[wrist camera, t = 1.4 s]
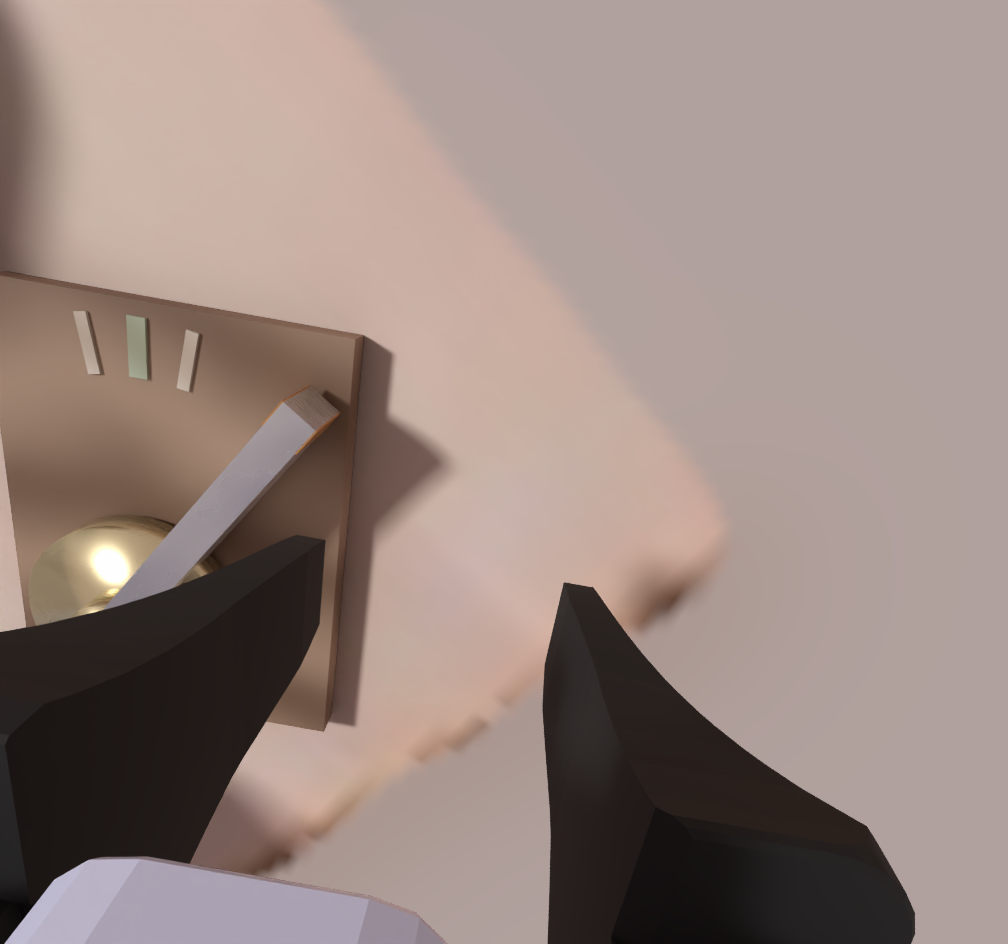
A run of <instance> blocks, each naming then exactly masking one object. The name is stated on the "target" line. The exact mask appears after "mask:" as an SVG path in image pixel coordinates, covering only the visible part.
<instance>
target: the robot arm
mask: <svg viewBox="0 0 1008 944" xmlns="http://www.w3.org/2000/svg"><path fill="white" fill-rule="evenodd" d="M325 542H326V540H323V539H317V538H312V537H306V536H301V535H294V536H292V537H289V538H286V539H284V540H282V541H279V542H277V543H275V544H273V545H271V546H269V547H266V548H264V549H262V550H260V551H258V552H256V553H254V554H251V555H249V556H247V557H245V558H243V559H240V560H238V561H236V562H234V563H232V564H230V565H227V566H225V567H223V568H221V569H218V570H216V571H213V572H211V573H209V574H206V575H204V576H201V577H199V578H196V579H194V580H191V581H189V582H186V583H184V584H181V585H179V586H177V587H174V588H171V589H169V590H166V591H163V592H160V593H157V594H154V595H151V596H148V597H145V598H142V599H139V600H136V601H132V602H129V603H126V604H123V605H120V606H116V607H113V608H109V609H105V610H101V611H97V612H93V613H89V614H85V615H80V616H76V617H72V618H68V619H64V620H60V621H56V622H52V623H47V624H42V625H37V626H32V627H26V628H21V629H16V630H11V631H4V632H0V944H447V943H446V942H445V941H444V940H443V939H442V938H441V937H440V936H439V935H438V934H437V933H436V932H435V931H434V930H433V929H432V928H431V927H430V926H429V925H428V924H427V923H426V922H425V921H424V920H423V919H422V918H421V917H420V916H419V915H418V914H417V913H416V912H413V911H410V910H408V909H405V908H402V907H400V906H397V905H394V904H391V903H389V902H386V901H383V900H381V899H378V898H375V897H373V896H369V895H363V894H357V893H352V892H346V891H340V890H334V889H328V888H323V887H317V886H312V885H306V884H301V883H295V882H289V881H284V880H278V879H272V878H266V877H261V876H255V875H249V874H244V873H238V872H232V871H227V870H221V869H215V868H210V867H204V866H198V865H193V864H190V862H191V860H192V857H193V855H194V853H195V851H196V849H197V847H198V845H199V843H200V841H201V839H202V836H203V834H204V832H205V830H206V828H207V826H208V824H209V822H210V820H211V818H212V816H213V814H214V812H215V810H216V808H217V806H218V804H219V802H220V800H221V798H222V796H223V794H224V792H225V790H226V788H227V786H228V784H229V782H230V780H231V778H232V776H233V775H234V773H235V771H236V769H237V768H238V766H239V764H240V762H241V761H242V759H243V757H244V756H245V754H246V752H247V751H248V749H249V748H250V746H251V745H252V743H253V741H254V740H255V738H256V737H257V735H258V733H259V732H260V730H261V729H262V727H263V726H264V724H265V722H266V721H267V719H268V718H269V716H270V714H271V713H272V711H273V710H274V708H275V707H276V705H277V703H278V702H279V700H280V699H281V697H282V695H283V694H284V692H285V691H286V689H287V687H288V686H289V684H290V683H291V681H292V679H293V678H294V676H295V674H296V673H297V671H298V670H299V668H300V666H301V664H302V662H303V660H304V658H305V656H306V654H307V652H308V649H309V647H310V645H311V643H312V640H313V638H314V636H315V634H316V631H317V629H318V627H319V624H320V611H321V598H322V584H323V570H324V556H325ZM543 723H544V735H545V736H544V737H545V751H546V764H547V777H548V791H549V804H550V826H551V851H550V893H549V922H548V944H911V942H912V940H913V937H914V935H915V912H914V910H913V908H912V906H911V903H910V901H909V899H908V897H907V894H906V892H905V890H904V889H903V887H902V885H901V883H900V882H899V880H898V878H897V876H896V875H895V873H894V871H893V869H892V868H891V866H890V864H889V862H888V861H887V859H886V857H885V856H884V854H883V852H882V851H881V848H880V847H879V845H878V843H877V842H876V840H875V838H874V837H873V835H872V834H871V832H870V831H869V829H868V827H867V826H865V825H864V824H862V823H860V822H858V821H856V820H855V819H853V818H851V817H850V816H848V815H846V814H845V813H843V812H841V811H839V810H837V809H836V808H834V807H832V806H830V805H829V804H827V803H825V802H823V801H822V800H820V799H819V798H817V797H815V796H813V795H812V794H810V793H808V792H806V791H805V790H803V789H802V788H800V787H798V786H797V785H795V784H794V783H792V782H790V781H789V780H788V779H786V778H785V777H783V776H782V775H780V774H779V773H777V772H776V771H774V770H773V769H771V768H770V767H768V766H767V765H765V764H764V763H762V762H761V761H760V760H758V759H757V758H756V757H754V756H753V755H751V754H750V753H749V752H747V751H746V750H744V749H743V748H742V747H741V746H739V745H738V744H737V743H736V742H734V741H733V740H732V739H730V738H729V737H728V736H727V735H725V734H724V733H723V732H722V731H720V730H719V729H718V728H717V727H715V726H714V725H713V724H712V723H711V722H710V721H708V720H707V719H706V718H705V717H703V716H702V715H701V714H700V713H699V712H698V711H697V710H696V709H695V708H694V707H693V706H692V705H690V704H689V703H688V702H687V701H686V700H685V699H684V698H683V697H682V696H681V695H680V694H679V693H678V692H677V691H676V690H675V689H674V688H673V687H672V686H671V685H670V684H669V683H668V682H667V681H666V680H665V679H664V678H663V677H662V675H660V673H659V672H658V671H657V670H656V669H655V668H654V666H653V665H652V664H651V663H650V662H649V661H648V660H647V659H646V657H645V656H644V655H643V654H642V653H641V651H640V650H639V649H638V648H637V646H636V645H635V644H634V643H633V641H632V640H631V639H630V638H629V636H628V635H627V634H626V632H625V631H624V630H623V628H622V627H621V626H620V624H619V623H618V622H617V620H616V619H615V617H614V616H613V615H612V613H611V612H610V610H609V609H608V608H607V606H606V605H605V603H604V602H603V600H602V599H601V597H600V596H599V595H598V593H597V592H596V590H595V589H594V588H593V587H587V586H581V585H576V584H570V583H564V584H563V589H562V593H561V597H560V602H559V606H558V610H557V614H556V619H555V623H554V627H553V632H552V636H551V640H550V644H549V649H548V653H547V657H546V662H545V671H544V688H543Z"/></svg>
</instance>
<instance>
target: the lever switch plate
mask: <svg viewBox="0 0 1008 944" xmlns="http://www.w3.org/2000/svg"><path fill="white" fill-rule="evenodd" d="M363 341H364V335H359V334H353V333H348V332H342V331H337V330H331V329H326V328H320V327H314V326H309V325H303V324H298V323H292V322H286V321H281V320H275V319H270V318H264V317H259V316H253V315H247V314H242V313H236V312H231V311H225V310H220V309H214V308H208V307H203V306H197V305H192V304H186V303H180V302H175V301H169V300H164V299H158V298H153V297H147V296H141V295H136V294H130V293H125V292H119V291H113V290H108V289H102V288H97V287H91V286H86V285H80V284H74V283H69V282H63V281H58V280H52V279H46V278H41V277H35V276H30V275H24V274H19V273H13V272H7V271H3V272H0V428H1V435H2V443H3V451H4V458H5V466H6V474H7V481H8V489H9V497H10V504H11V512H12V520H13V527H14V535H15V543H16V550H17V558H18V566H19V574H20V581H21V589H22V597H23V604H24V612H25V620H26V627H32V626H36V624H35V621H34V619H33V616H32V612H31V608H30V604H29V594H28V593H29V581H30V577H31V573H32V570H33V568H34V565H35V563H36V562H37V560H38V558H39V557H40V555H41V554H42V553H43V552H44V551H45V550H46V549H47V548H48V547H49V546H50V545H52V544H53V543H54V542H56V541H57V540H59V539H60V538H62V537H64V536H66V535H67V534H69V533H71V532H72V531H74V530H76V529H77V528H79V527H81V526H83V525H84V524H86V523H88V522H90V521H93V520H96V519H99V518H102V517H107V516H112V515H137V516H143V517H148V518H152V519H155V520H159V521H162V522H165V523H167V524H169V525H171V526H174V527H175V526H176V525H177V524H178V523H179V521H180V520H181V519H182V518H183V517H184V516H185V514H186V513H187V512H188V511H189V510H190V509H191V508H192V506H193V505H194V504H195V503H196V502H197V501H198V499H199V498H200V497H201V496H202V495H203V494H204V493H205V491H206V490H207V489H208V488H209V487H210V486H211V484H212V483H213V482H214V481H215V480H216V479H217V478H218V476H219V475H220V474H221V473H222V472H223V471H224V469H225V468H226V467H227V466H228V465H229V464H230V463H231V461H232V460H233V459H234V458H235V457H236V456H237V454H238V453H239V452H240V451H241V450H242V449H243V448H244V446H245V445H246V444H247V443H248V442H249V441H250V439H251V438H252V437H253V436H254V435H255V434H256V433H257V431H258V430H259V429H260V428H261V427H262V425H261V424H262V423H263V422H264V421H265V419H266V418H267V417H268V416H269V415H270V414H271V412H272V411H273V410H274V409H275V408H276V407H277V406H278V404H279V403H280V402H281V401H282V400H284V399H286V398H287V397H289V396H291V395H293V394H294V393H296V392H298V391H300V390H302V389H303V388H305V387H307V386H309V385H310V386H311V387H312V388H314V389H315V390H316V391H317V392H318V393H319V394H320V395H321V396H322V397H324V398H325V399H326V400H327V401H328V402H329V403H330V404H331V405H332V406H333V407H335V408H336V409H337V410H338V411H339V412H340V413H341V414H340V415H339V416H338V417H337V418H336V419H335V420H334V421H333V422H332V423H331V425H330V426H329V427H328V428H327V429H326V430H325V431H324V432H323V433H322V434H321V435H320V436H319V437H318V438H316V439H315V440H314V441H313V442H312V443H311V444H310V445H309V446H308V447H307V449H306V450H305V451H304V452H303V453H302V454H301V455H300V456H299V457H298V458H297V460H296V461H295V462H294V463H293V464H292V465H291V466H290V467H289V468H288V469H287V470H286V472H285V473H284V474H283V475H282V476H281V477H280V478H279V479H278V480H277V481H276V483H275V484H274V485H273V486H272V487H271V488H270V489H269V490H268V491H267V492H266V494H265V495H264V496H263V497H262V498H261V499H260V500H259V501H258V502H257V503H256V504H255V506H254V507H253V508H252V509H251V510H250V511H249V512H248V513H247V514H246V515H245V517H244V518H243V519H242V520H241V521H240V522H239V523H238V524H237V525H236V526H235V528H234V529H233V530H232V531H231V532H230V533H229V534H228V535H227V536H226V537H225V538H224V540H223V541H222V542H221V543H220V544H219V545H218V546H217V547H216V548H215V549H214V551H213V552H212V553H211V554H212V555H213V556H214V558H215V559H216V560H217V561H218V562H219V564H220V565H221V567H222V568H223V567H225V566H227V565H230V564H232V563H234V562H236V561H238V560H240V559H243V558H245V557H247V556H249V555H251V554H254V553H256V552H258V551H260V550H262V549H264V548H266V547H269V546H271V545H273V544H275V543H277V542H279V541H282V540H284V539H286V538H289V537H292V536H294V535H301V536H306V537H312V538H317V539H323V540H326V542H325V556H324V570H323V584H322V598H321V611H320V624H319V627H318V629H317V631H316V634H315V636H314V638H313V640H312V643H311V645H310V647H309V649H308V652H307V654H306V656H305V658H304V660H303V662H302V664H301V666H300V668H299V670H298V671H297V673H296V674H295V676H294V678H293V679H292V681H291V683H290V684H289V686H288V687H287V689H286V691H285V692H284V694H283V695H282V697H281V699H280V700H279V702H278V703H277V705H276V707H275V708H274V710H273V711H272V713H271V714H270V716H269V718H268V719H267V722H272V723H278V724H283V725H289V726H295V727H300V728H306V729H312V730H317V731H323V732H324V730H325V728H326V725H327V723H328V721H329V719H330V717H331V714H332V704H333V692H334V681H335V669H336V657H337V646H338V634H339V622H340V610H341V599H342V587H343V575H344V563H345V552H346V540H347V528H348V517H349V505H350V493H351V481H352V470H353V458H354V446H355V434H356V423H357V411H358V399H359V388H360V376H361V364H362V352H363Z"/></svg>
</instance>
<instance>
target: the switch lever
mask: <svg viewBox="0 0 1008 944" xmlns="http://www.w3.org/2000/svg"><path fill="white" fill-rule="evenodd" d="M340 414H341V413H340V412H339V411H338V410H337V409H336V408H335V407H333V406H332V405H331V404H330V403H329V402H328V401H327V400H326V399H325V398H324V397H322V396H321V395H320V394H319V393H318V392H317V391H316V390H315V389H314V388H312V387H311V386H310V385H309V386H307V387H305V388H303V389H302V390H300V391H298V392H296V393H294V394H293V395H291V396H289V397H287V398H286V399H284V400H282V401H281V402H280V403H279V404H278V406H277V407H276V408H275V409H274V410H273V411H272V412H271V414H270V415H269V416H268V417H267V418H266V419H265V421H264V422H263V423H262V424H261V425H262V427H261V428H260V429H259V430H258V431H257V433H256V434H255V435H254V436H253V437H252V438H251V439H250V441H249V442H248V443H247V444H246V445H245V446H244V448H243V449H242V450H241V451H240V452H239V453H238V454H237V456H236V457H235V458H234V459H233V460H232V461H231V463H230V464H229V465H228V466H227V467H226V468H225V469H224V471H223V472H222V473H221V474H220V475H219V476H218V478H217V479H216V480H215V481H214V482H213V483H212V484H211V486H210V487H209V488H208V489H207V490H206V491H205V493H204V494H203V495H202V496H201V497H200V498H199V499H198V501H197V502H196V503H195V504H194V505H193V506H192V508H191V509H190V510H189V511H188V512H187V513H186V514H185V516H184V517H183V518H182V519H181V520H180V521H179V523H178V524H177V525H176V526H175V527H174V526H171V525H169V524H167V523H165V522H162V521H159V520H155V519H152V518H148V517H143V516H137V515H112V516H107V517H102V518H99V519H96V520H93V521H90V522H88V523H86V524H84V525H83V526H81V527H79V528H77V529H76V530H74V531H72V532H71V533H69V534H67V535H66V536H64V537H62V538H60V539H59V540H57V541H56V542H54V543H53V544H52V545H50V546H49V547H48V548H47V549H46V550H45V551H44V552H43V553H42V554H41V555H40V557H39V558H38V560H37V562H36V563H35V565H34V568H33V570H32V573H31V577H30V581H29V593H28V594H29V604H30V608H31V612H32V616H33V619H34V621H35V624H36V626H37V625H42V624H47V623H52V622H56V621H60V620H64V619H68V618H72V617H76V616H80V615H85V614H89V613H93V612H97V611H101V610H105V609H109V608H113V607H116V606H120V605H123V604H126V603H129V602H132V601H136V600H139V599H142V598H145V597H148V596H151V595H154V594H157V593H160V592H163V591H166V590H169V589H171V588H174V587H177V586H179V585H181V584H184V583H186V582H189V581H191V580H194V579H196V578H199V577H201V576H204V575H206V574H209V573H211V572H213V571H216V570H218V569H221V568H222V567H221V565H220V564H219V562H218V561H217V560H216V559H215V558H214V556H213V555H212V554H211V553H212V552H213V551H214V549H215V548H216V547H217V546H218V545H219V544H220V543H221V542H222V541H223V540H224V538H225V537H226V536H227V535H228V534H229V533H230V532H231V531H232V530H233V529H234V528H235V526H236V525H237V524H238V523H239V522H240V521H241V520H242V519H243V518H244V517H245V515H246V514H247V513H248V512H249V511H250V510H251V509H252V508H253V507H254V506H255V504H256V503H257V502H258V501H259V500H260V499H261V498H262V497H263V496H264V495H265V494H266V492H267V491H268V490H269V489H270V488H271V487H272V486H273V485H274V484H275V483H276V481H277V480H278V479H279V478H280V477H281V476H282V475H283V474H284V473H285V472H286V470H287V469H288V468H289V467H290V466H291V465H292V464H293V463H294V462H295V461H296V460H297V458H298V457H299V456H300V455H301V454H302V453H303V452H304V451H305V450H306V449H307V447H308V446H309V445H310V444H311V443H312V442H313V441H314V440H315V439H316V438H318V437H319V436H320V435H321V434H322V433H323V432H324V431H325V430H326V429H327V428H328V427H329V426H330V425H331V423H332V422H333V421H334V420H335V419H336V418H337V417H338V416H339V415H340Z"/></svg>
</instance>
